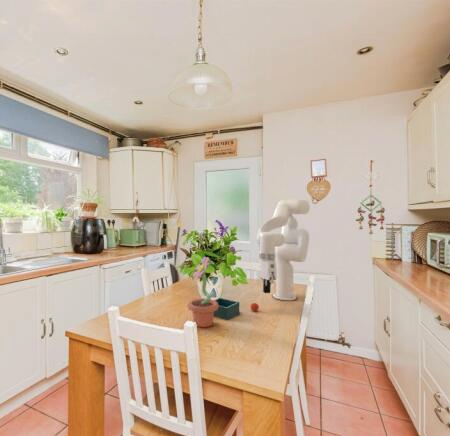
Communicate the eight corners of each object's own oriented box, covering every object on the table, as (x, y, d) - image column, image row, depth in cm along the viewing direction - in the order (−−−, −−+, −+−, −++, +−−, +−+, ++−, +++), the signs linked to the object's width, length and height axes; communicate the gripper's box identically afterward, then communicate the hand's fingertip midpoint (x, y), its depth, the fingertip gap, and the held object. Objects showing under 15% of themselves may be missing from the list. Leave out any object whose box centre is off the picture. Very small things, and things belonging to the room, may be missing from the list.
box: (219, 308, 144) (219, 297, 144) (239, 313, 137) (239, 302, 137) (206, 314, 135) (206, 302, 135) (227, 319, 128) (227, 308, 128)
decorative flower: (184, 318, 129) (184, 254, 129) (212, 316, 132) (212, 254, 132) (191, 331, 115) (191, 259, 114) (222, 329, 117) (223, 259, 117)
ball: (252, 309, 143) (252, 301, 143) (260, 310, 140) (260, 302, 140) (249, 311, 140) (249, 303, 140) (256, 312, 137) (256, 304, 137)
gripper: (282, 258, 135) (281, 296, 135) (266, 255, 150) (265, 288, 150) (268, 259, 133) (268, 297, 133) (253, 255, 148) (253, 289, 148)
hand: (266, 292), depth 141 cm, fingers closed
